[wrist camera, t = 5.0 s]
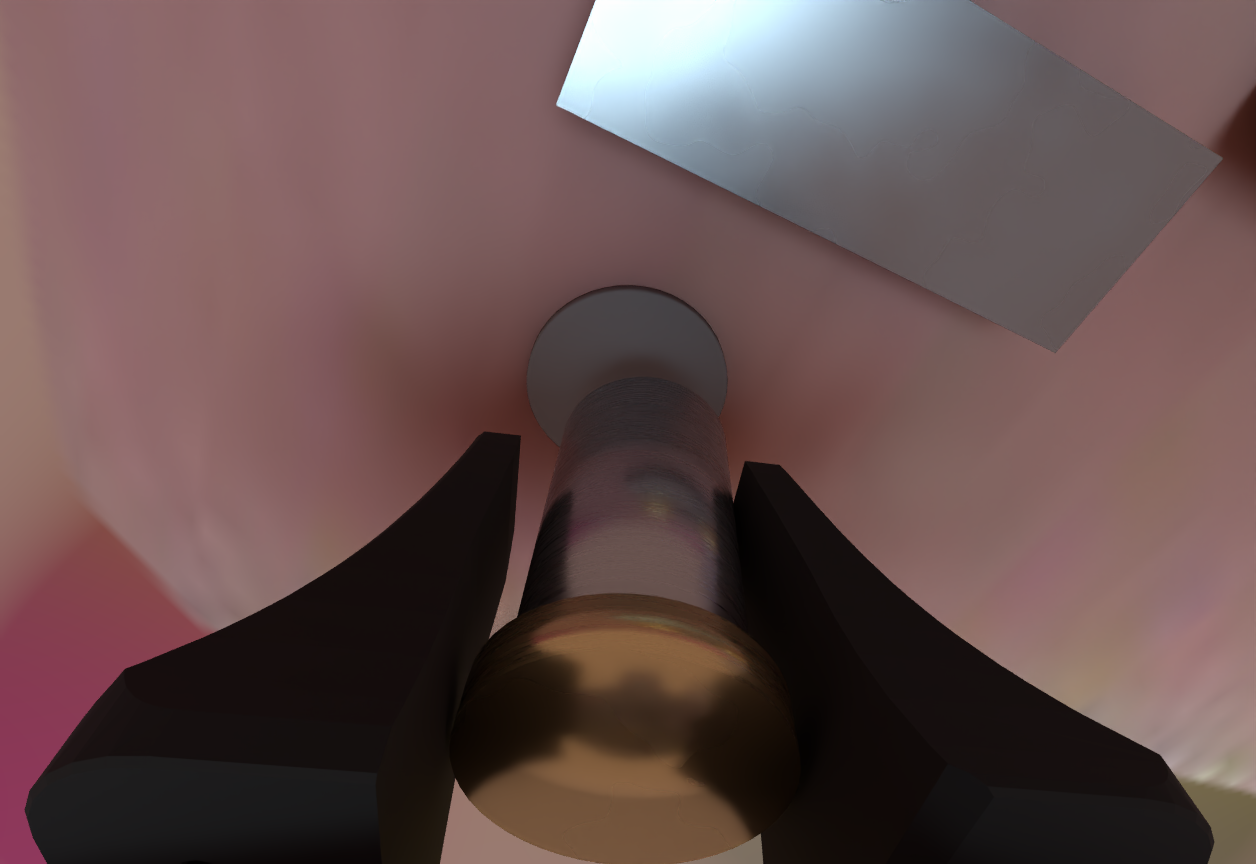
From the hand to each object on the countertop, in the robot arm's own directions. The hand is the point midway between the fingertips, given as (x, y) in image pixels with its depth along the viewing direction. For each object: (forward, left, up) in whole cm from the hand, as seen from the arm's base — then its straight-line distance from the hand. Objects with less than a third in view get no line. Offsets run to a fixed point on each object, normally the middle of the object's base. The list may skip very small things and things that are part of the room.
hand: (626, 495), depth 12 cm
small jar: (0, 0, -2) cm, 2 cm away
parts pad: (0, 0, -4) cm, 4 cm away
